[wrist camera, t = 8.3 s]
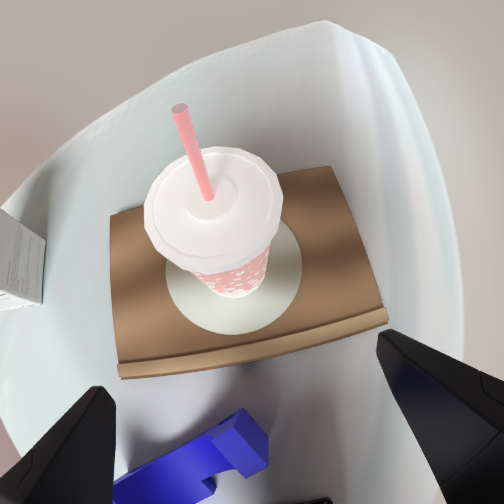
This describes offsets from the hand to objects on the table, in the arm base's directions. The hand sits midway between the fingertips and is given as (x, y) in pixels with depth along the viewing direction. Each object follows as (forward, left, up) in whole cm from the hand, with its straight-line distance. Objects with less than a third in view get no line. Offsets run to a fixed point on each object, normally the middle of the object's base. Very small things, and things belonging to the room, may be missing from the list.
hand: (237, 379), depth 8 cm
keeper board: (+7, 0, -12) cm, 14 cm away
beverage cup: (+7, 0, -11) cm, 13 cm away
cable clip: (-8, +6, -12) cm, 16 cm away
